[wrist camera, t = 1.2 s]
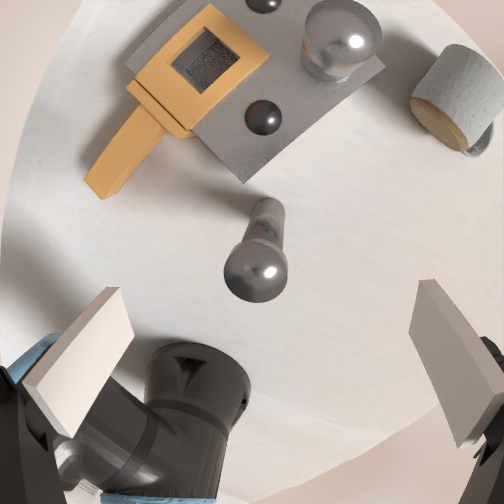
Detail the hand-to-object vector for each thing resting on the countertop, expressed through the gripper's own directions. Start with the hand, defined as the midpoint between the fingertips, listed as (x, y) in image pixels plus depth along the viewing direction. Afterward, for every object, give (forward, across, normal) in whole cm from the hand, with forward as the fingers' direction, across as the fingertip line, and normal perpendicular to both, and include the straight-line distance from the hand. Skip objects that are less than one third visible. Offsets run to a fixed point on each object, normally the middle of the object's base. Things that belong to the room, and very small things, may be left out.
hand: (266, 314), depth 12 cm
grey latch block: (+19, -1, +14) cm, 23 cm away
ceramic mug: (+19, +19, +10) cm, 28 cm away
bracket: (+19, -9, +10) cm, 23 cm away
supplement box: (+22, -64, -82) cm, 106 cm away
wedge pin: (+19, -1, -1) cm, 19 cm away
